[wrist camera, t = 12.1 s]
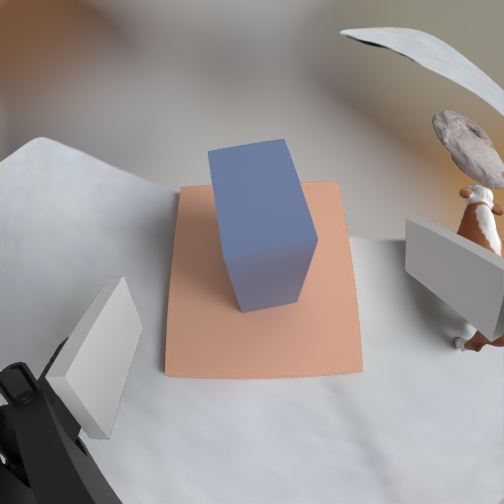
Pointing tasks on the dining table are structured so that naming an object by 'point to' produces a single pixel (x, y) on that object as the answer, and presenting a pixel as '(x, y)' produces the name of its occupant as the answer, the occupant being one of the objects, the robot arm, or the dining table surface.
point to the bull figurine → (480, 243)
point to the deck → (262, 223)
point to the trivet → (266, 320)
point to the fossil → (469, 148)
